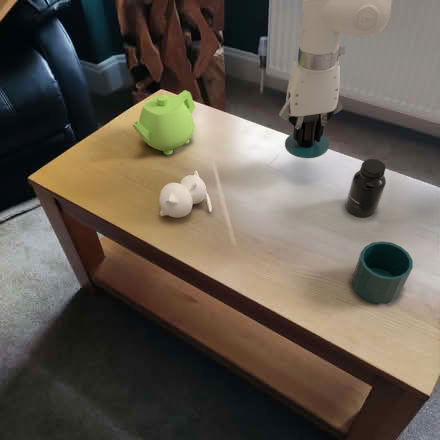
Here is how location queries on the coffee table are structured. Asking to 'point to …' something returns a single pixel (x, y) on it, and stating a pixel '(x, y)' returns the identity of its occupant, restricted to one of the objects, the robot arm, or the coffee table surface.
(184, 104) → the teapot
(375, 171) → the supplement bottle
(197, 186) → the cat figurine
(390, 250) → the tin
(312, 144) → the lid
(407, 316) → the coffee table surface
